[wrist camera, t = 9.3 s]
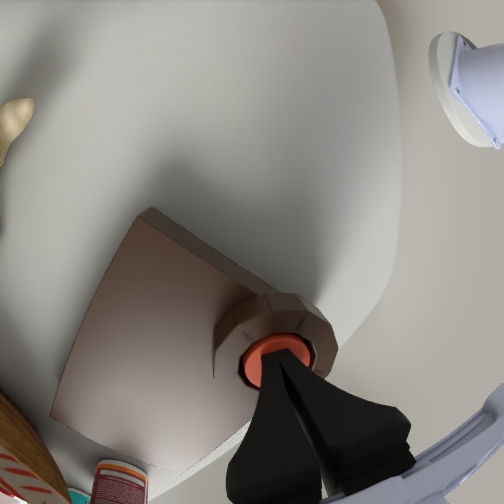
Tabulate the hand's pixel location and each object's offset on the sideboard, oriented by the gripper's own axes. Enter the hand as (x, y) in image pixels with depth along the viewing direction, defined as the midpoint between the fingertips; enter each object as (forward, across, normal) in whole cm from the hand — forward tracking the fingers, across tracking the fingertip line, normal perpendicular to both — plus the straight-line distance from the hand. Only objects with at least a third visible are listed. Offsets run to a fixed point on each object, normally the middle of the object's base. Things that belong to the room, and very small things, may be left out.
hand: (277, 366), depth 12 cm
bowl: (+5, +33, +7) cm, 34 cm away
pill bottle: (+5, +19, +17) cm, 26 cm away
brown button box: (+5, +7, +2) cm, 9 cm away
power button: (+2, 0, 0) cm, 2 cm away
